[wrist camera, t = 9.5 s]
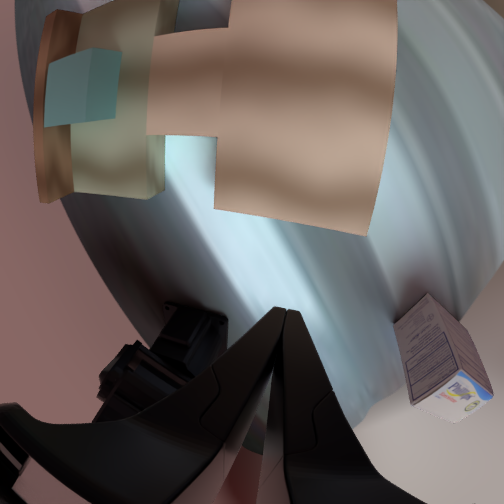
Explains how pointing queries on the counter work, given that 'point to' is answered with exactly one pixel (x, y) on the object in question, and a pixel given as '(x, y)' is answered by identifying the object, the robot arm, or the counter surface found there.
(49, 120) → the teal block
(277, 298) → the counter surface
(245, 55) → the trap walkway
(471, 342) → the medicine box
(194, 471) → the robot arm
